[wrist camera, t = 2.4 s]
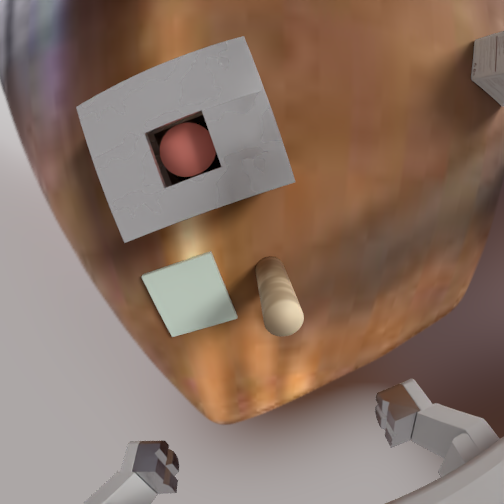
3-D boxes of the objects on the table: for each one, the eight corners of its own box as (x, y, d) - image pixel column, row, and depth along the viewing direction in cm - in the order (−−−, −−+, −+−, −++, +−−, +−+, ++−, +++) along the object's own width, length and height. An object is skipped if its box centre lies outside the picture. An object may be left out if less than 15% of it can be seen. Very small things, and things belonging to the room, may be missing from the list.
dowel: (279, 252, 31) (298, 296, 22) (287, 277, 32) (307, 329, 23) (251, 261, 31) (258, 309, 22) (260, 286, 32) (270, 341, 23)
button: (207, 118, 24) (203, 114, 22) (223, 164, 26) (221, 165, 23) (161, 136, 25) (152, 134, 22) (177, 181, 26) (170, 184, 23)
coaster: (211, 250, 31) (210, 252, 30) (237, 315, 33) (237, 318, 33) (142, 274, 31) (141, 276, 30) (173, 334, 34) (172, 337, 33)
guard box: (241, 62, 25) (243, 36, 18) (281, 175, 29) (295, 182, 22) (109, 115, 25) (76, 106, 19) (148, 222, 29) (124, 243, 22)
